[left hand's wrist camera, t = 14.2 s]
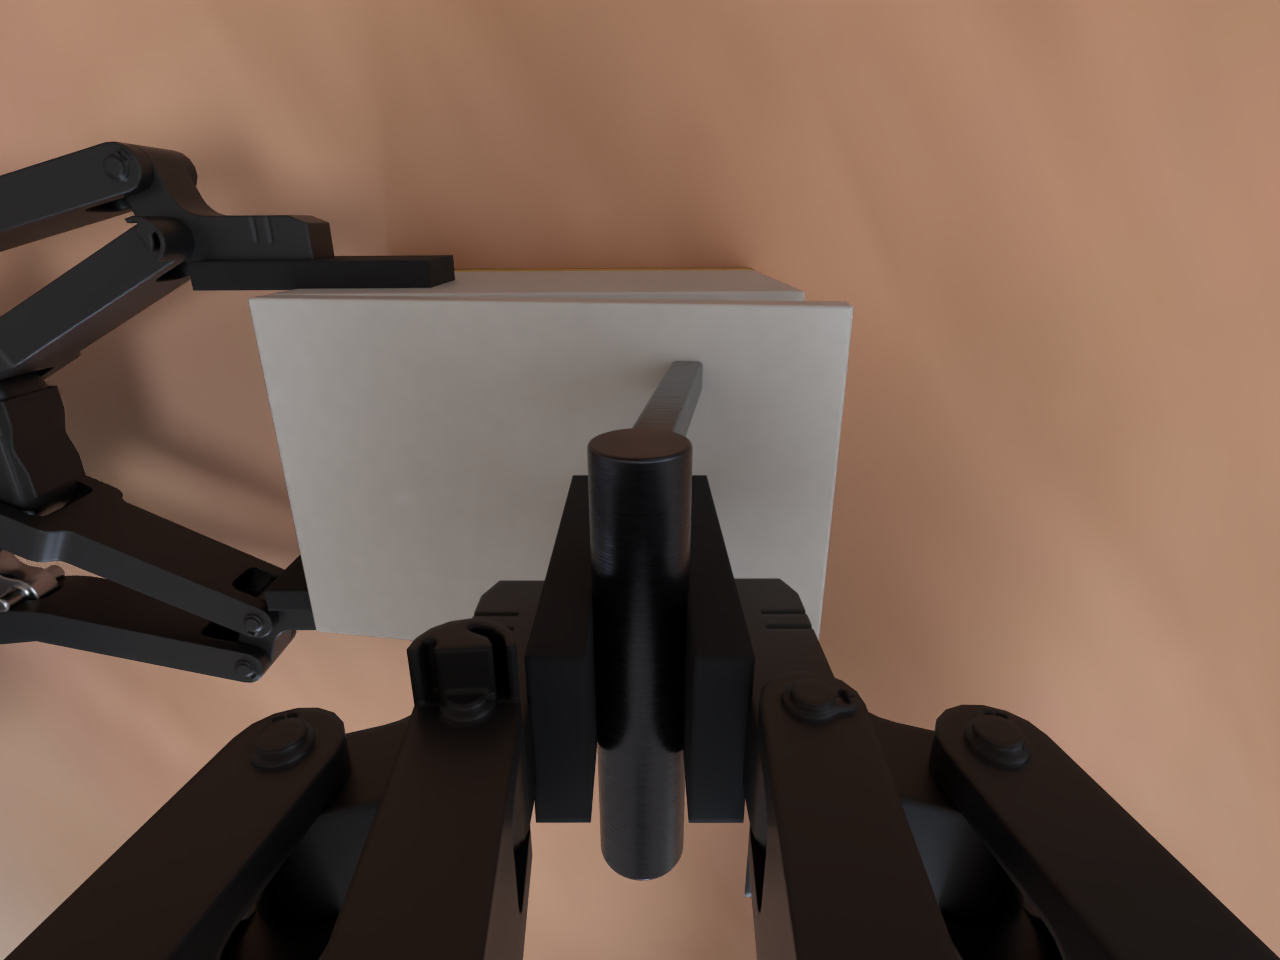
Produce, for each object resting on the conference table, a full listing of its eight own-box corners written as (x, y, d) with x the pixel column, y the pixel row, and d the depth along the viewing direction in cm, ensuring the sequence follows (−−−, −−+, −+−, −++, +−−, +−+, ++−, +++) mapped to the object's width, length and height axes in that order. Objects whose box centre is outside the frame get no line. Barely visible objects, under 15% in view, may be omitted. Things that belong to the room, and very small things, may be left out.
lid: (849, 301, 15) (938, 381, 7) (812, 661, 18) (848, 962, 11) (269, 294, 17) (-108, 350, 10) (332, 616, 21) (88, 841, 13)
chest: (750, 267, 26) (806, 290, 17) (738, 499, 29) (780, 612, 21) (388, 270, 26) (267, 293, 17) (419, 501, 29) (330, 615, 21)
